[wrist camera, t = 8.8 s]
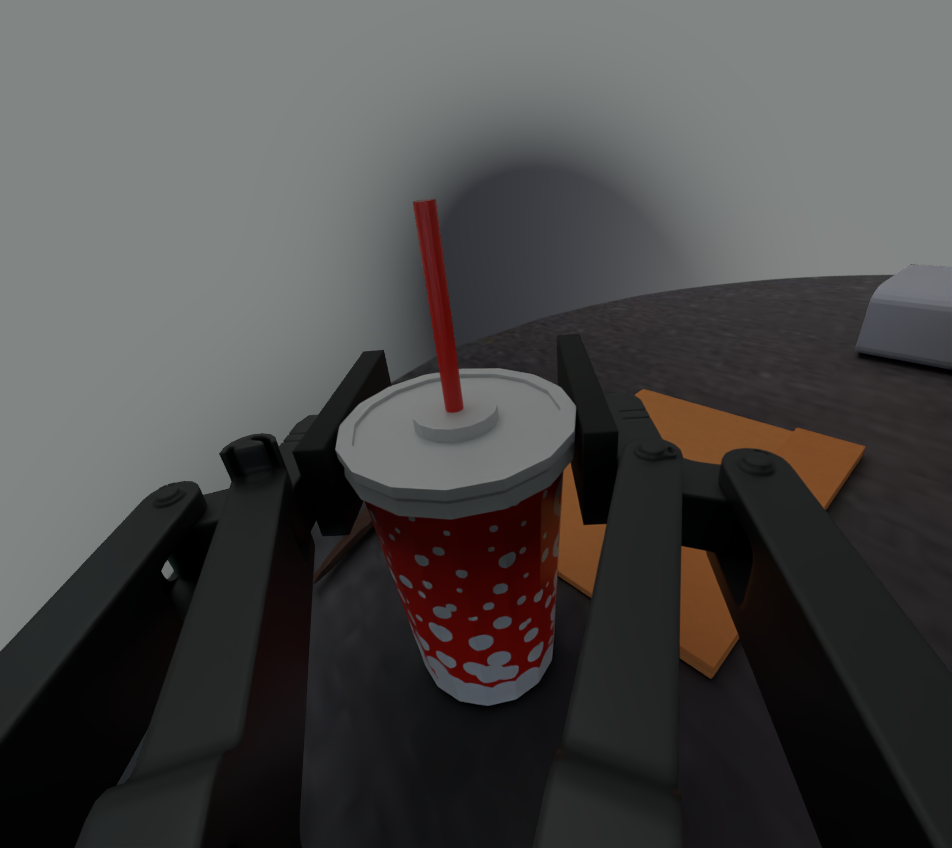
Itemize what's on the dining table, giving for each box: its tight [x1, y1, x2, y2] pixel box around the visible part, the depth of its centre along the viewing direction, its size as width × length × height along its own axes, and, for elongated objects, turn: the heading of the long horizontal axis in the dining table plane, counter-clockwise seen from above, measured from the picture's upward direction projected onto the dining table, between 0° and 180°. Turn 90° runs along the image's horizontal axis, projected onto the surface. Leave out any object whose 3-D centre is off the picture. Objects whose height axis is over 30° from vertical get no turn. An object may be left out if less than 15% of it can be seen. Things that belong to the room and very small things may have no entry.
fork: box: [313, 506, 374, 584], centre depth 25 cm, size 3×16×2 cm, turn 157°
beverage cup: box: [335, 199, 576, 706], centre depth 13 cm, size 6×6×14 cm
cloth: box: [558, 389, 866, 679], centre depth 23 cm, size 16×12×1 cm
